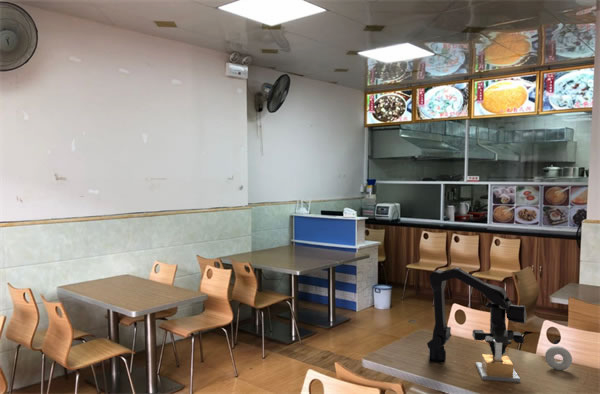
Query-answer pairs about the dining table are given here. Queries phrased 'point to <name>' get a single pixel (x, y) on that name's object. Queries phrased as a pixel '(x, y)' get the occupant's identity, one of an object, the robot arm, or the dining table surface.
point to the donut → (561, 351)
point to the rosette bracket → (497, 369)
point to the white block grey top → (497, 351)
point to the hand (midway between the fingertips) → (497, 356)
